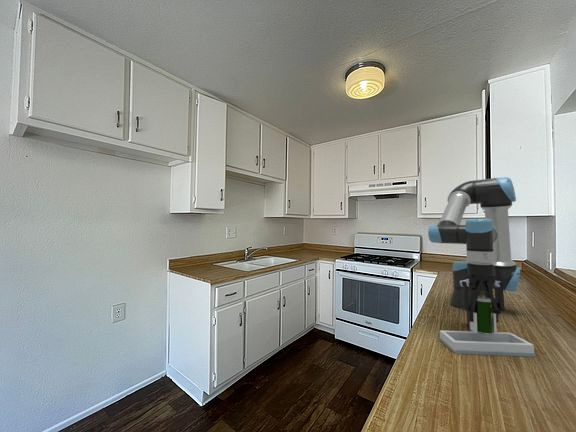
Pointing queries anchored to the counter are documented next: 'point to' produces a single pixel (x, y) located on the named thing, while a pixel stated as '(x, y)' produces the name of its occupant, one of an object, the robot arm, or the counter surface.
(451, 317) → the counter surface
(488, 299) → the beer can
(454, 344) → the tray
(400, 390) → the counter surface
